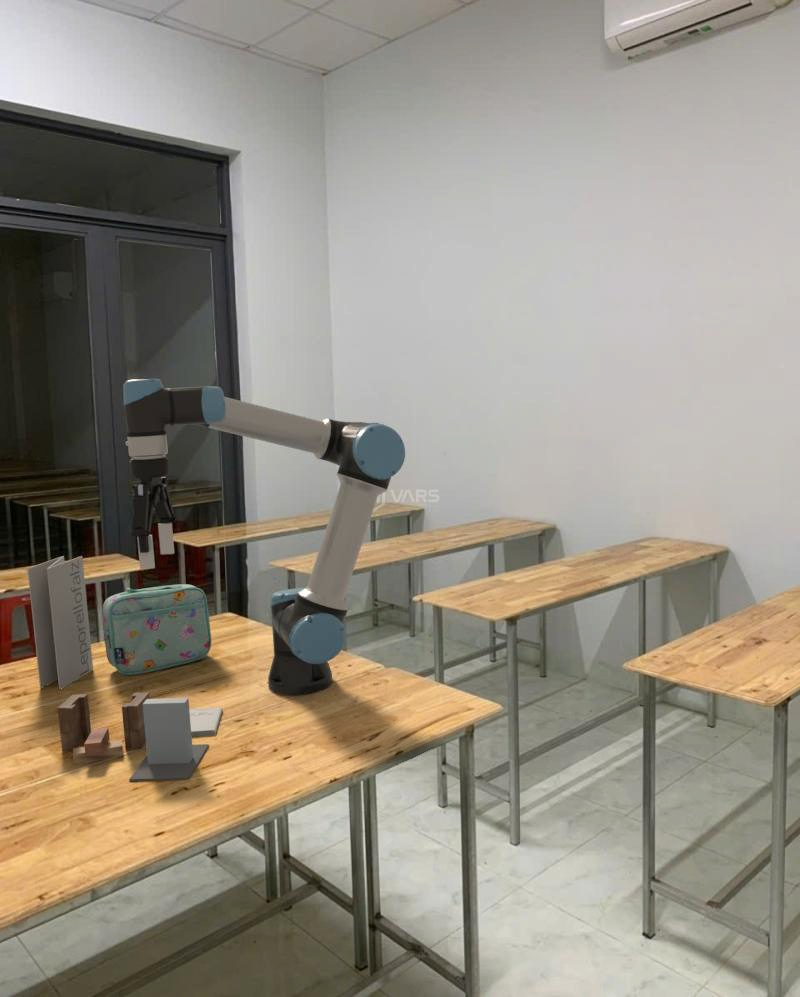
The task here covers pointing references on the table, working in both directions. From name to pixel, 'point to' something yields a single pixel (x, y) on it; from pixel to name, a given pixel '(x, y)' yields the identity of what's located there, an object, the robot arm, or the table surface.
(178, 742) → the grey upright panel
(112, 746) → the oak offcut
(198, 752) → the mat
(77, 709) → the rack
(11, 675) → the table surface
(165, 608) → the lunch box
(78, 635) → the brochure
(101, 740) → the mahogany offcut
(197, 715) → the external hard drive
